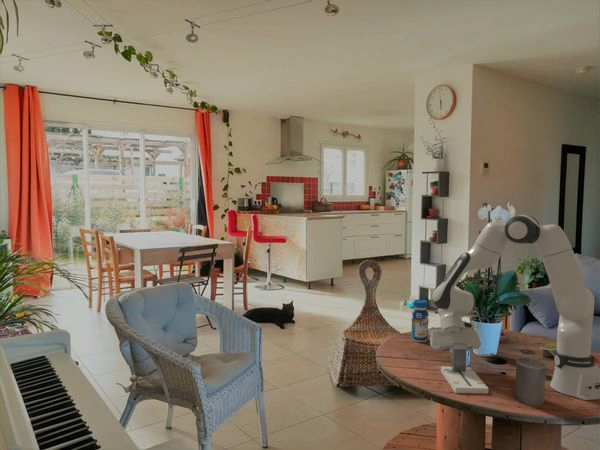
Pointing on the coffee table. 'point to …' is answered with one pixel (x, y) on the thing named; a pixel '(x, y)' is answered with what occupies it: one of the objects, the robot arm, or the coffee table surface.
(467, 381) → the board
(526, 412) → the coffee table surface
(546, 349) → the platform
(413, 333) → the beverage bottle
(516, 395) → the pillar candle
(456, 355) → the fader tab
